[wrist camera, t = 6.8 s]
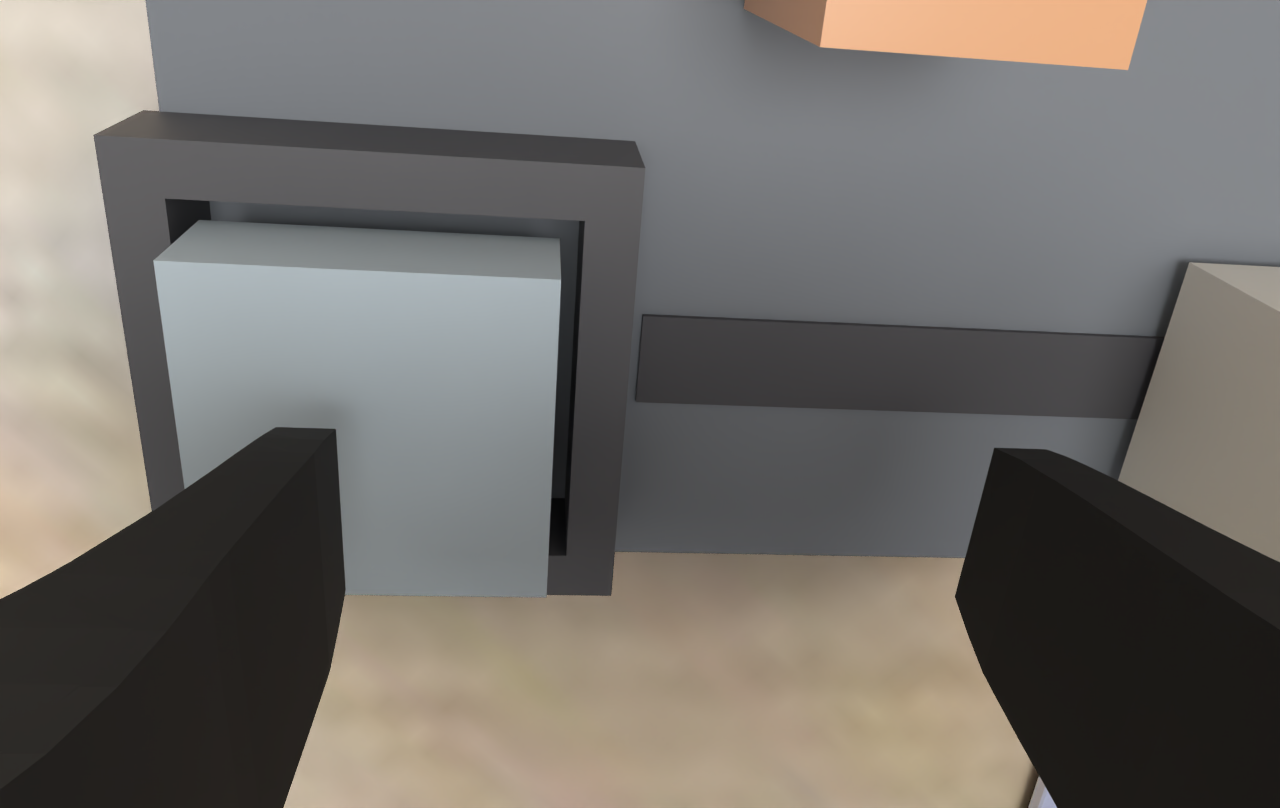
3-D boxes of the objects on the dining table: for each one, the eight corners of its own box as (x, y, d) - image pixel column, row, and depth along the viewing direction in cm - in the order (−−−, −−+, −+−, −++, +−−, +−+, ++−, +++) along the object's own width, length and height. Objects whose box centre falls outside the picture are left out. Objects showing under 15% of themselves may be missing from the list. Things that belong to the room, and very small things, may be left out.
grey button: (546, 530, 15) (545, 597, 13) (233, 524, 14) (198, 592, 13) (559, 238, 13) (561, 279, 11) (199, 220, 12) (152, 260, 11)
